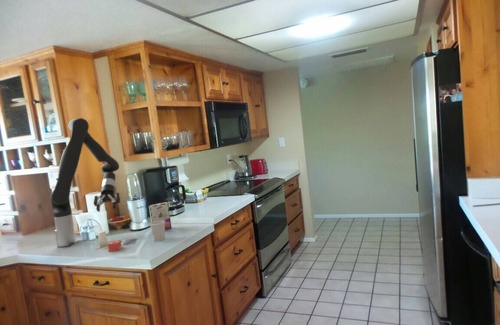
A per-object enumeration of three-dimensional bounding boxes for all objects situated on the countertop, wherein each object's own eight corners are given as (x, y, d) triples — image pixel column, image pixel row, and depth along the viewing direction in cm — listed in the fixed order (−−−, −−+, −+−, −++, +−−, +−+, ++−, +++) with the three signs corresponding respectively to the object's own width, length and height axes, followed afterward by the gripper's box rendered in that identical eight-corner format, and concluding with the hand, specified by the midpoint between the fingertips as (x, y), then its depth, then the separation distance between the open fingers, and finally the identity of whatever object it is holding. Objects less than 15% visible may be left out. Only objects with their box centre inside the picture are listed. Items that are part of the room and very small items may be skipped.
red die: (109, 254, 171) (107, 244, 171) (111, 250, 176) (110, 241, 175) (119, 252, 172) (118, 242, 171) (121, 249, 177) (120, 239, 176)
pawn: (98, 247, 181) (96, 233, 180) (100, 245, 184) (98, 231, 184) (106, 246, 181) (104, 232, 181) (108, 243, 185) (106, 230, 184)
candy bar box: (169, 227, 212) (166, 201, 211) (171, 228, 208) (168, 202, 207) (151, 231, 207) (148, 205, 206) (153, 233, 203) (149, 206, 202)
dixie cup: (148, 242, 185) (146, 224, 184) (157, 237, 192) (155, 220, 192) (161, 242, 182) (159, 224, 181) (170, 237, 190) (168, 219, 189)
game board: (93, 252, 176) (93, 250, 176) (100, 245, 188) (100, 243, 188) (135, 246, 179) (135, 244, 179) (139, 239, 191) (138, 237, 191)
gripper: (94, 185, 201) (91, 208, 191) (118, 182, 203) (117, 204, 193) (97, 192, 207) (95, 215, 197) (122, 189, 209) (120, 211, 199)
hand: (106, 209), depth 195 cm, fingers open, 8 cm apart
